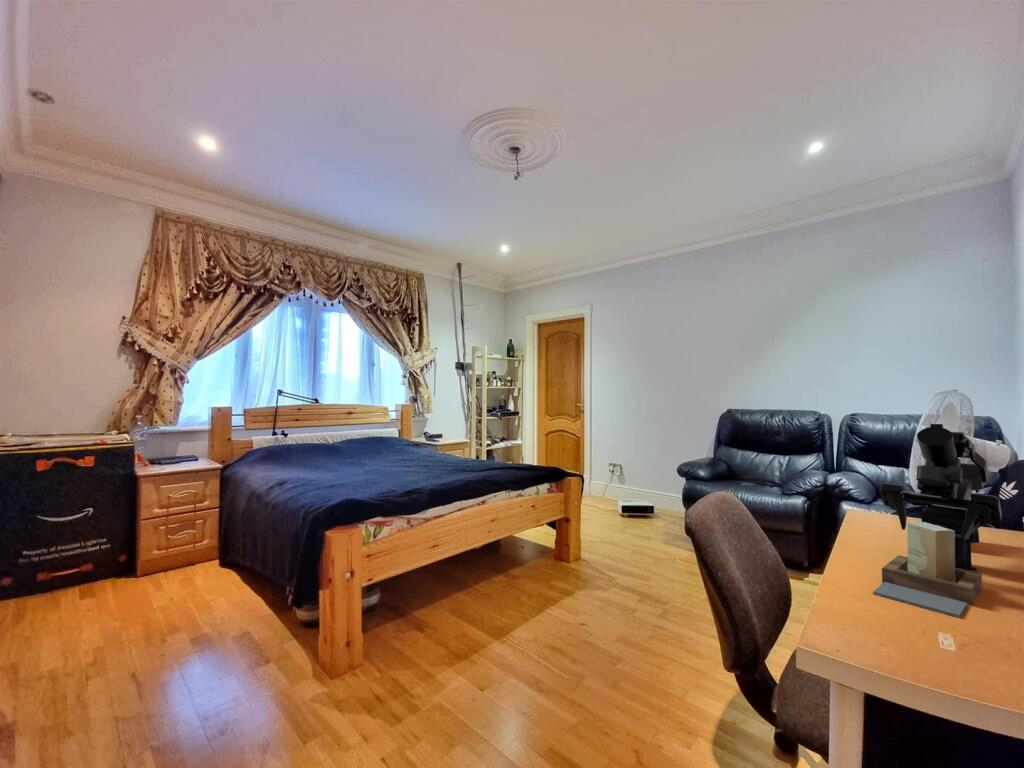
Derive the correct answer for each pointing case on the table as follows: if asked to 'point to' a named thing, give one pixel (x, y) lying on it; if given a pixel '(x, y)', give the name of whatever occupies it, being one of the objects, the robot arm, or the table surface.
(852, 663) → the table surface
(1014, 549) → the table surface
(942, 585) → the square wooden frame
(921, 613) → the table surface
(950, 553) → the skincare box
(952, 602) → the slate mat
